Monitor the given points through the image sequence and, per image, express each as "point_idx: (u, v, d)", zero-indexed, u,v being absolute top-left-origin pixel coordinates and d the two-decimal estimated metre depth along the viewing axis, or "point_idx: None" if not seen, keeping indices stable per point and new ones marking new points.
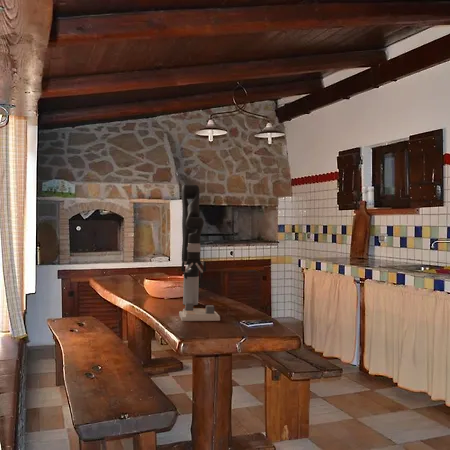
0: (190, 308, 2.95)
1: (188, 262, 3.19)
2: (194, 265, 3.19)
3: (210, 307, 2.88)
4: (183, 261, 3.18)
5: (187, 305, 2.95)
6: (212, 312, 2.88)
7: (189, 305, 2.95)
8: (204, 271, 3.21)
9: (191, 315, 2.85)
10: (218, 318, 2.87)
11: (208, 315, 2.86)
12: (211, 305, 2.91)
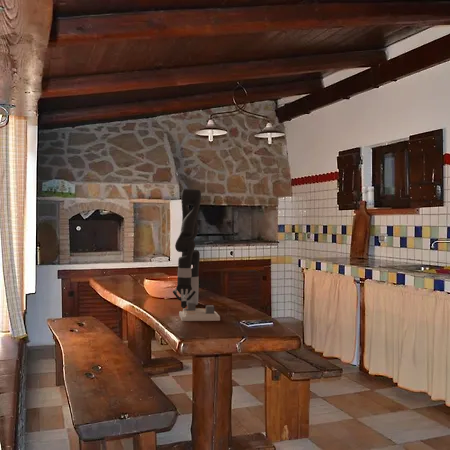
0: (192, 308, 2.95)
1: (178, 291, 2.95)
2: (184, 291, 2.95)
3: (210, 307, 2.88)
4: (173, 291, 2.94)
5: (189, 305, 2.95)
6: (212, 312, 2.88)
7: (191, 305, 2.95)
8: (187, 299, 2.96)
9: (191, 315, 2.85)
10: (218, 318, 2.87)
11: (208, 315, 2.86)
12: (211, 305, 2.91)
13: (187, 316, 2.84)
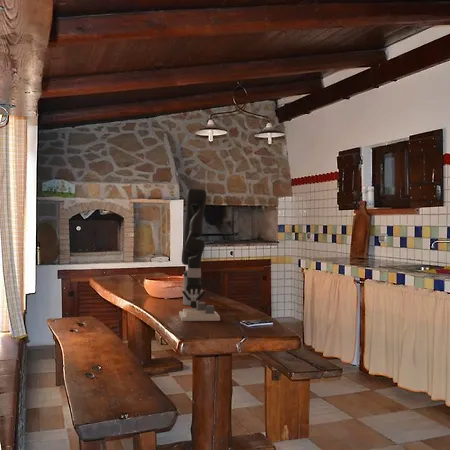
0: (202, 308, 2.96)
1: (187, 291, 2.95)
2: (194, 291, 2.96)
3: (210, 307, 2.88)
4: (183, 291, 2.95)
5: (199, 305, 2.96)
6: (212, 312, 2.88)
7: (201, 305, 2.96)
8: None
9: (191, 315, 2.85)
10: (218, 318, 2.87)
11: (208, 315, 2.86)
12: (211, 305, 2.91)
13: (187, 316, 2.84)
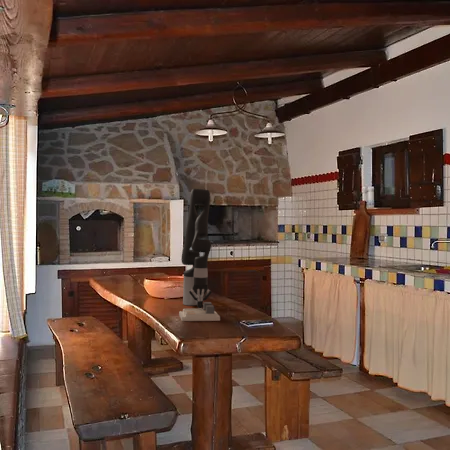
0: None
1: (194, 291, 2.96)
2: (200, 291, 2.97)
3: (210, 307, 2.88)
4: (189, 291, 2.95)
5: (205, 305, 2.96)
6: (212, 312, 2.88)
7: None
8: (203, 299, 2.97)
9: (191, 315, 2.85)
10: (218, 318, 2.87)
11: (208, 315, 2.86)
12: (211, 305, 2.91)
13: (187, 316, 2.84)
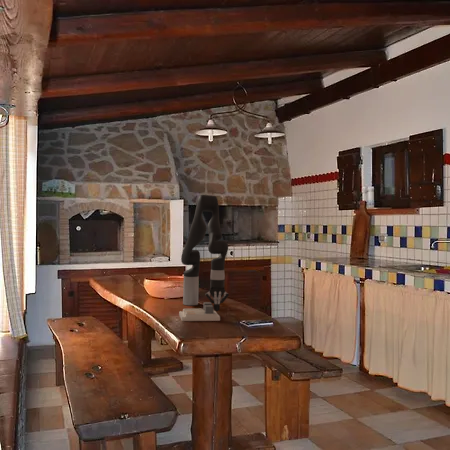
0: None
1: (211, 293, 2.88)
2: (217, 294, 2.89)
3: (209, 307, 2.88)
4: (206, 294, 2.88)
5: None
6: (211, 312, 2.88)
7: None
8: (220, 302, 2.90)
9: (191, 315, 2.85)
10: (218, 318, 2.87)
11: (208, 315, 2.86)
12: (210, 305, 2.91)
13: (187, 316, 2.84)
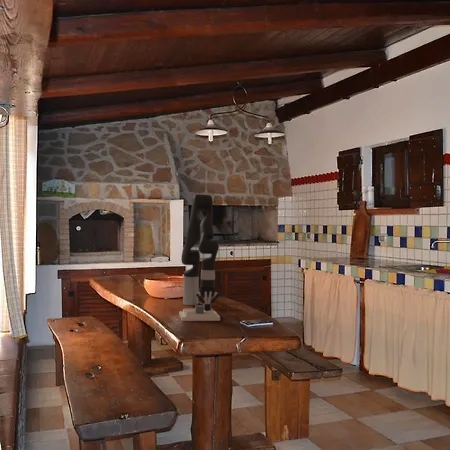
0: None
1: (201, 293, 2.88)
2: (208, 294, 2.88)
3: (199, 307, 2.87)
4: (196, 294, 2.87)
5: None
6: (201, 312, 2.87)
7: None
8: (211, 302, 2.89)
9: (191, 315, 2.85)
10: (218, 318, 2.87)
11: (208, 315, 2.86)
12: (200, 305, 2.90)
13: (187, 316, 2.84)
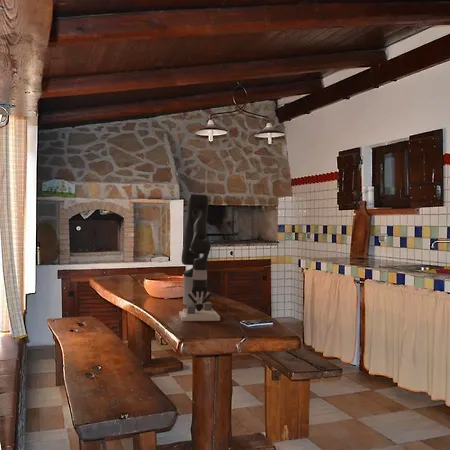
0: (208, 308, 2.97)
1: (193, 293, 2.87)
2: (200, 294, 2.87)
3: (191, 307, 2.86)
4: (188, 294, 2.86)
5: (206, 305, 2.96)
6: (193, 312, 2.86)
7: (207, 305, 2.97)
8: (203, 302, 2.88)
9: (191, 315, 2.85)
10: (218, 318, 2.87)
11: (208, 315, 2.86)
12: (192, 305, 2.89)
13: (187, 316, 2.84)
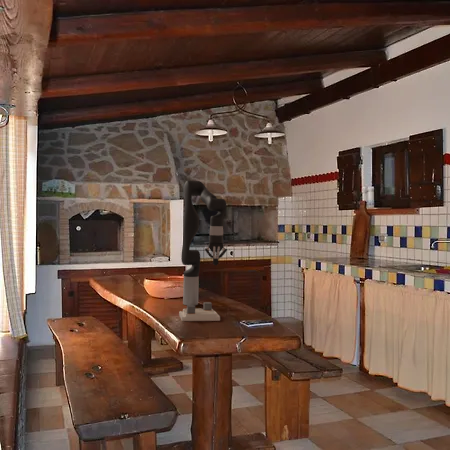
0: (208, 308, 2.97)
1: (210, 248, 3.04)
2: (216, 249, 3.05)
3: (191, 307, 2.86)
4: (205, 249, 3.04)
5: (206, 305, 2.96)
6: (193, 312, 2.86)
7: (207, 305, 2.97)
8: (219, 257, 3.06)
9: (191, 315, 2.85)
10: (218, 318, 2.87)
11: (208, 315, 2.86)
12: (192, 305, 2.89)
13: (187, 316, 2.84)
